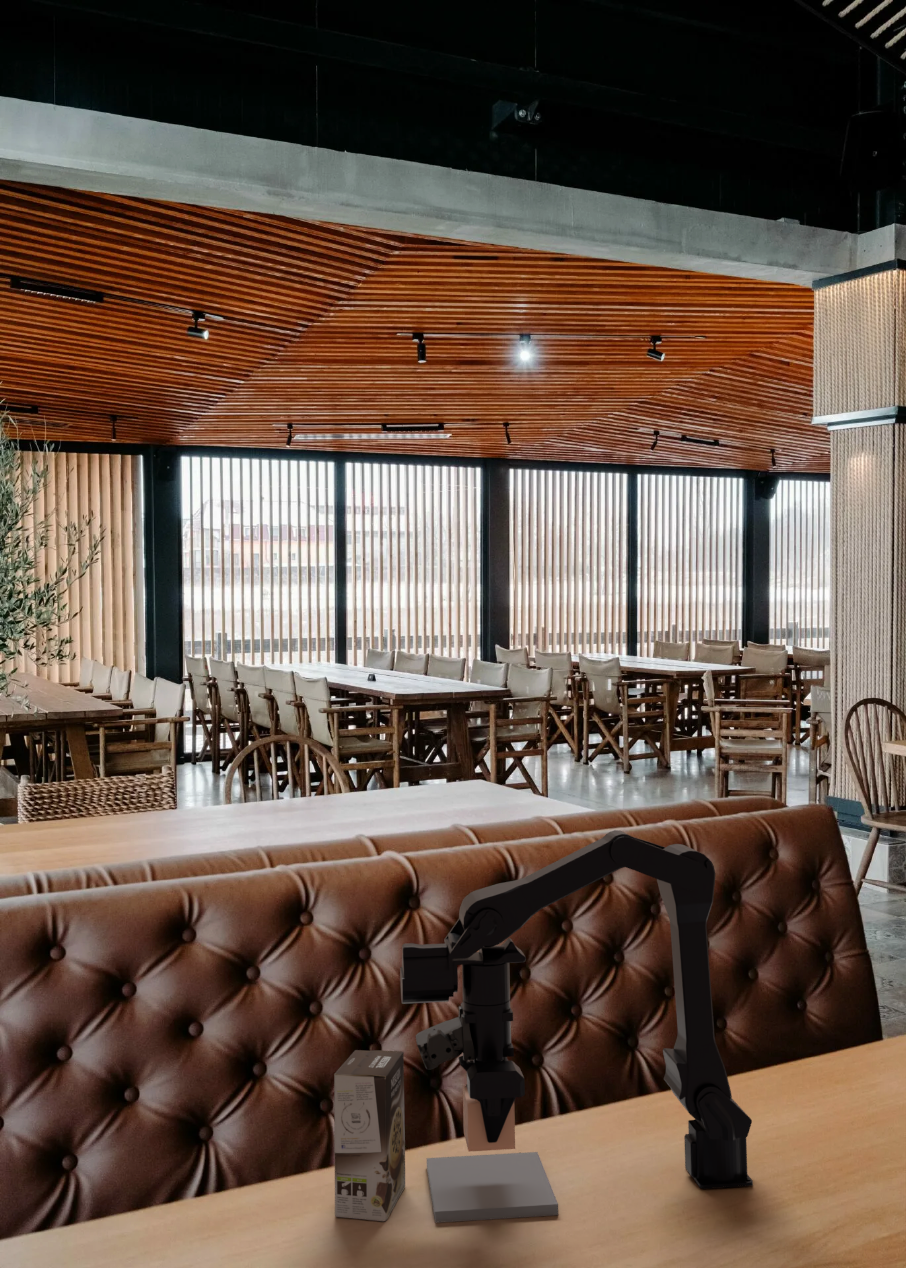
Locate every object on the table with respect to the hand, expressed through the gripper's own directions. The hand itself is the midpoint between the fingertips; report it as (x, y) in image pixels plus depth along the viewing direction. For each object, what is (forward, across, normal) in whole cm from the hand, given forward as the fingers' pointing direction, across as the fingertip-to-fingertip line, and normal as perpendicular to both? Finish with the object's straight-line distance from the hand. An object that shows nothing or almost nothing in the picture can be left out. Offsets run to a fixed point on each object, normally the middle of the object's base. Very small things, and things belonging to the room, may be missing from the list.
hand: (489, 1132), depth 130 cm
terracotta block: (+1, 0, 0) cm, 1 cm away
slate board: (+7, 0, 0) cm, 7 cm away
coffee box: (+7, +1, -14) cm, 16 cm away
